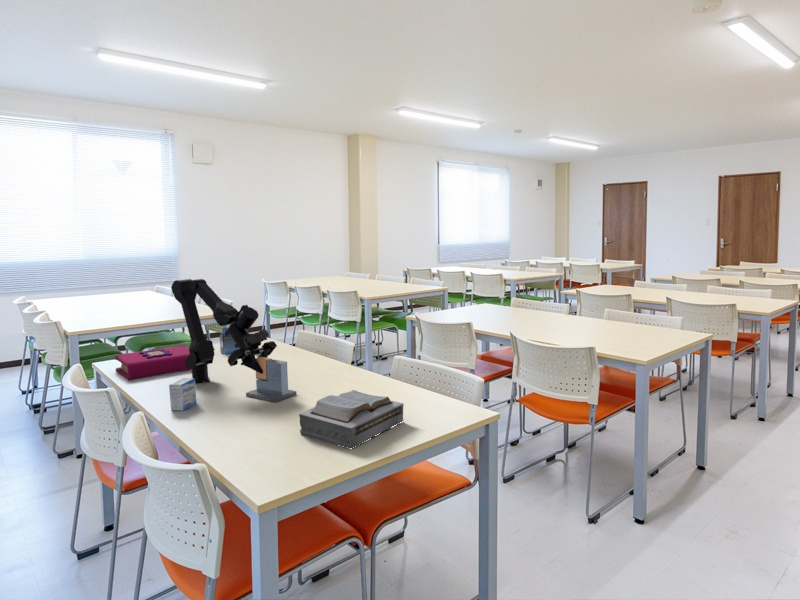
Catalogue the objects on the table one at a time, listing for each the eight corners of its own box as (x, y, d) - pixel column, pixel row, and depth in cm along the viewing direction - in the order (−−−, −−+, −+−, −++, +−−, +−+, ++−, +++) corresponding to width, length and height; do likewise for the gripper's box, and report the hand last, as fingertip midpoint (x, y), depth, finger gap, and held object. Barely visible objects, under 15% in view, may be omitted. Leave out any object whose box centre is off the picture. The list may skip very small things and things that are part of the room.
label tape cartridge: (238, 350, 259) (237, 324, 258) (241, 351, 256) (240, 325, 255) (220, 353, 254) (218, 327, 252) (223, 354, 251) (222, 328, 249)
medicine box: (183, 411, 172) (181, 384, 171) (170, 410, 173) (168, 384, 172) (197, 403, 180) (195, 378, 179) (184, 402, 181) (183, 377, 180)
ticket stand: (246, 396, 187) (244, 361, 186) (267, 388, 196) (265, 355, 194) (276, 402, 180) (274, 366, 178) (296, 394, 188) (295, 359, 187)
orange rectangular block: (256, 378, 189) (255, 358, 188) (262, 376, 191) (261, 356, 190) (266, 380, 186) (265, 360, 185) (272, 378, 189) (271, 358, 188)
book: (201, 369, 226) (200, 351, 225) (128, 382, 208) (127, 362, 207) (184, 360, 242) (183, 343, 241) (115, 371, 224) (113, 353, 223)
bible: (290, 431, 155) (288, 398, 154) (362, 409, 174) (362, 379, 172) (340, 455, 138) (339, 418, 137) (415, 427, 157) (414, 394, 156)
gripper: (231, 327, 180) (257, 363, 176) (272, 318, 196) (296, 352, 192) (216, 347, 186) (241, 383, 181) (257, 338, 201) (280, 371, 197)
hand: (265, 371), depth 188 cm, fingers closed on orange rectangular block, 3 cm apart
